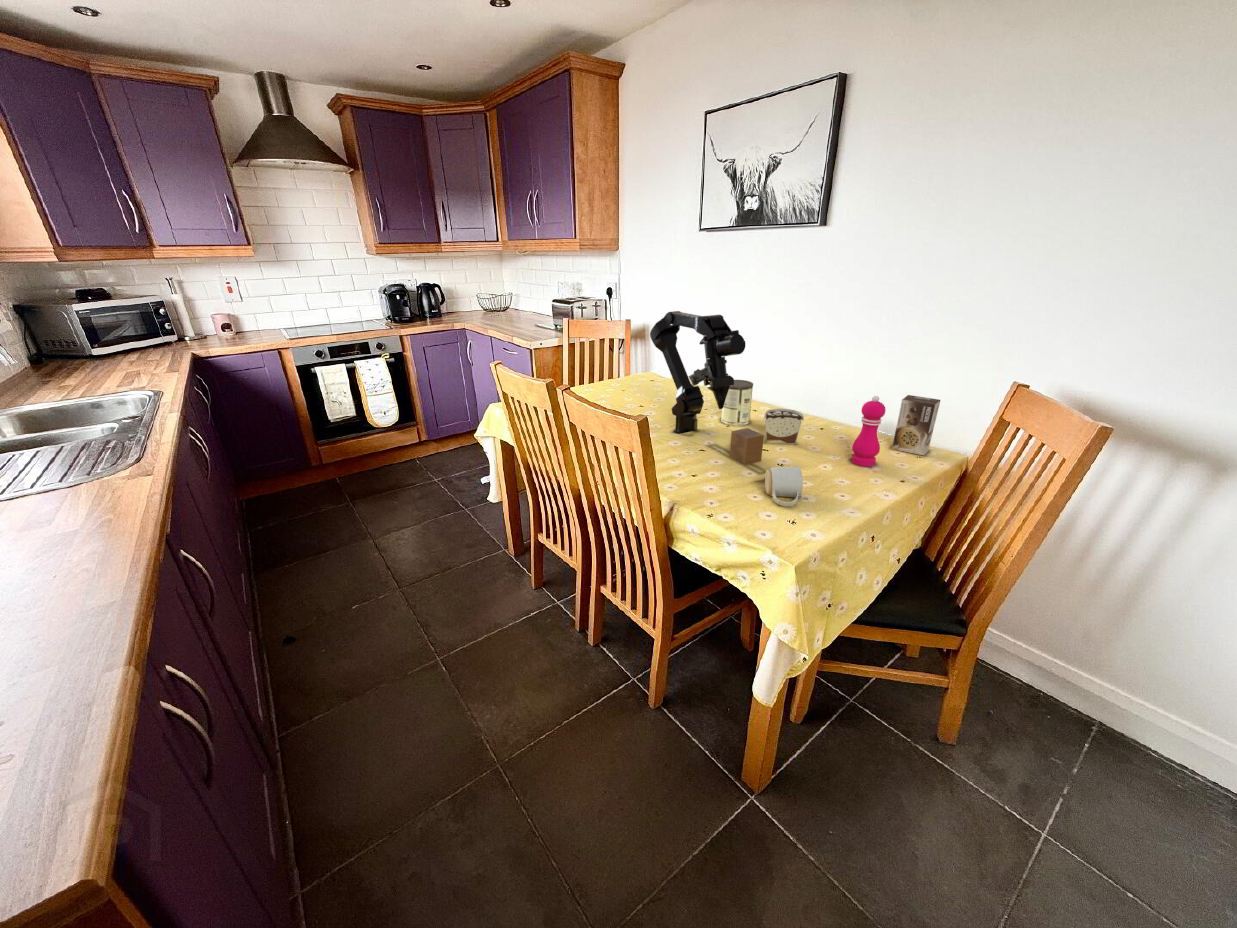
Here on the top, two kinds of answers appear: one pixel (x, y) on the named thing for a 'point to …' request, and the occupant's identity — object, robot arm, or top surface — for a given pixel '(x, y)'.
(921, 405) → the coffee box
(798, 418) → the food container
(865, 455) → the pepper mill
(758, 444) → the walnut slider
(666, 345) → the robot arm
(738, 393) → the coffee can
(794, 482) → the ceramic mug
